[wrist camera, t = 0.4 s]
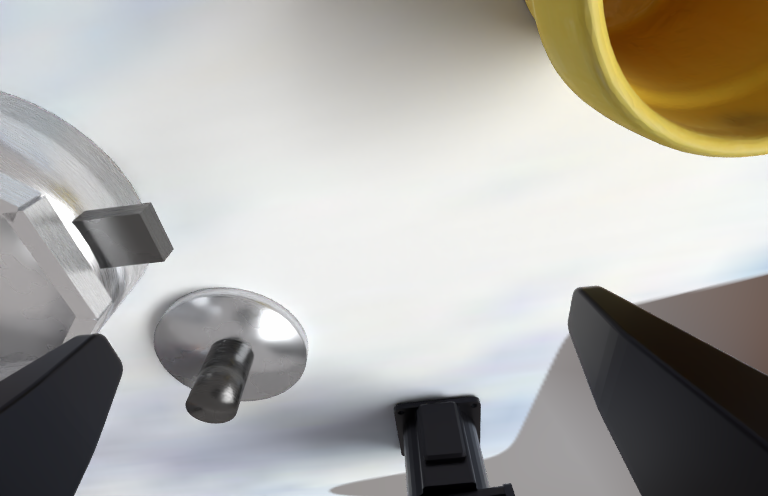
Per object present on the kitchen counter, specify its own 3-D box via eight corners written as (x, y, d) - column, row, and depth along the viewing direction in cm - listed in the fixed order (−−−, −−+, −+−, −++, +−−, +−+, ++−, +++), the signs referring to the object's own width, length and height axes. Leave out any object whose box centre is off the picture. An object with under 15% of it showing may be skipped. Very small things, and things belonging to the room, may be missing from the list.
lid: (321, 380, 30) (313, 448, 25) (194, 393, 30) (164, 462, 26) (289, 276, 24) (271, 339, 20) (136, 293, 25) (85, 359, 20)
